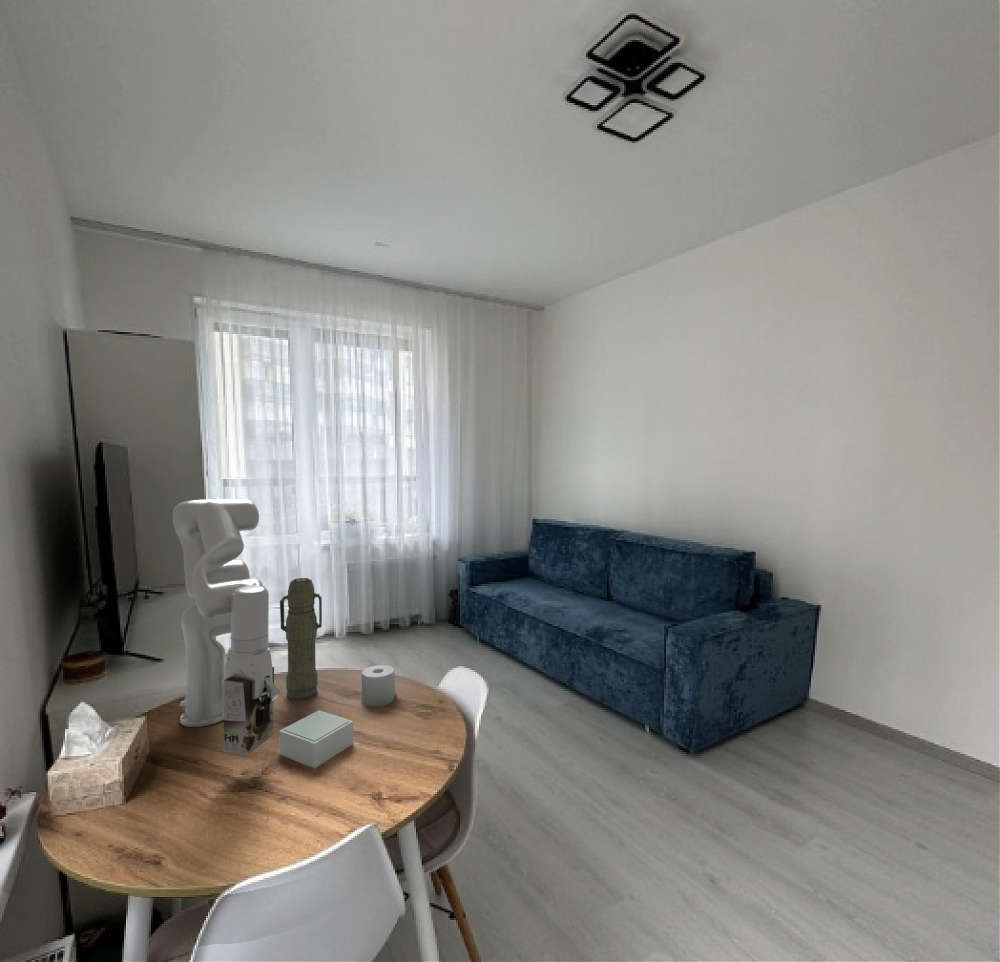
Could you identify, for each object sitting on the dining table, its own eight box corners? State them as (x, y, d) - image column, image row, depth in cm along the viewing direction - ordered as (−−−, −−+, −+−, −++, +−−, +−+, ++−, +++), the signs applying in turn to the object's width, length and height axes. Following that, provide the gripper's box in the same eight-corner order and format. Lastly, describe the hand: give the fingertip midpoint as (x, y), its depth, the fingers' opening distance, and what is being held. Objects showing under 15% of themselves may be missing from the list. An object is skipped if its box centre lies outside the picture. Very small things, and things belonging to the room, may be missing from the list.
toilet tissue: (397, 687, 161) (397, 660, 161) (391, 706, 148) (391, 676, 147) (368, 688, 160) (367, 660, 160) (359, 707, 147) (359, 677, 147)
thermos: (281, 691, 158) (280, 578, 157) (321, 685, 162) (320, 575, 162) (280, 703, 150) (279, 584, 149) (322, 696, 154) (322, 580, 153)
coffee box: (248, 756, 110) (248, 683, 109) (222, 752, 111) (222, 679, 110) (275, 734, 119) (275, 666, 118) (250, 730, 120) (250, 663, 119)
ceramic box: (279, 755, 123) (279, 729, 123) (319, 733, 133) (319, 709, 133) (314, 769, 117) (314, 742, 117) (353, 745, 127) (353, 720, 127)
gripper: (206, 641, 114) (206, 719, 114) (266, 655, 107) (265, 737, 108) (235, 631, 121) (235, 705, 121) (292, 643, 114) (292, 720, 115)
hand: (249, 719), depth 115 cm, fingers closed on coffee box, 7 cm apart
